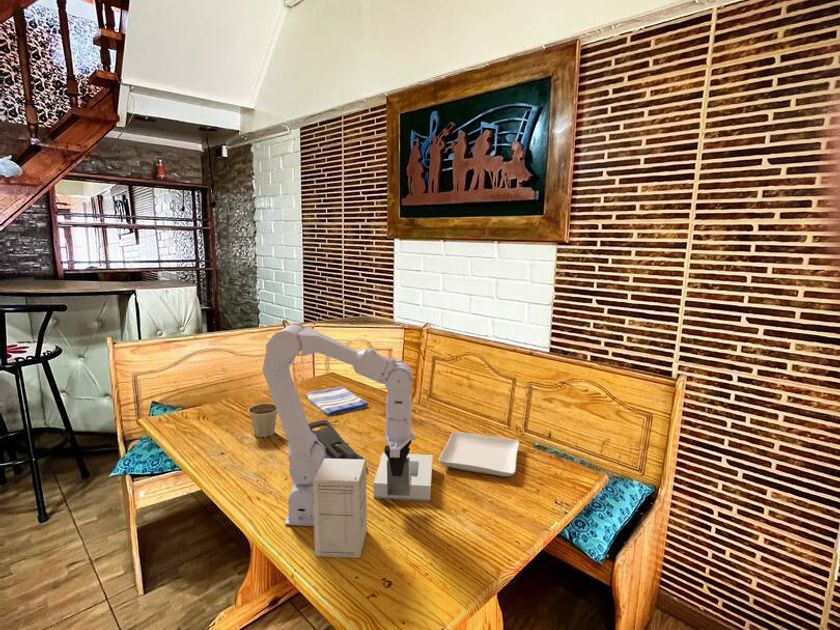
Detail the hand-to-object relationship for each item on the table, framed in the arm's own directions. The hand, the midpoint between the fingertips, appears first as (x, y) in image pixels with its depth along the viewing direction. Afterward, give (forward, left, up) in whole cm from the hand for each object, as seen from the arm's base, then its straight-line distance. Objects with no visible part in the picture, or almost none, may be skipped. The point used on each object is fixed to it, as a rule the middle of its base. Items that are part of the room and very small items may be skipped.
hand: (397, 472), depth 103 cm
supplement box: (-11, +10, -11) cm, 19 cm away
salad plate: (+29, -22, -11) cm, 37 cm away
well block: (+14, -1, -10) cm, 17 cm away
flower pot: (+39, +47, -11) cm, 62 cm away
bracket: (+1, 0, -5) cm, 5 cm away
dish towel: (+70, +31, -11) cm, 77 cm away
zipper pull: (+26, +22, -11) cm, 36 cm away
